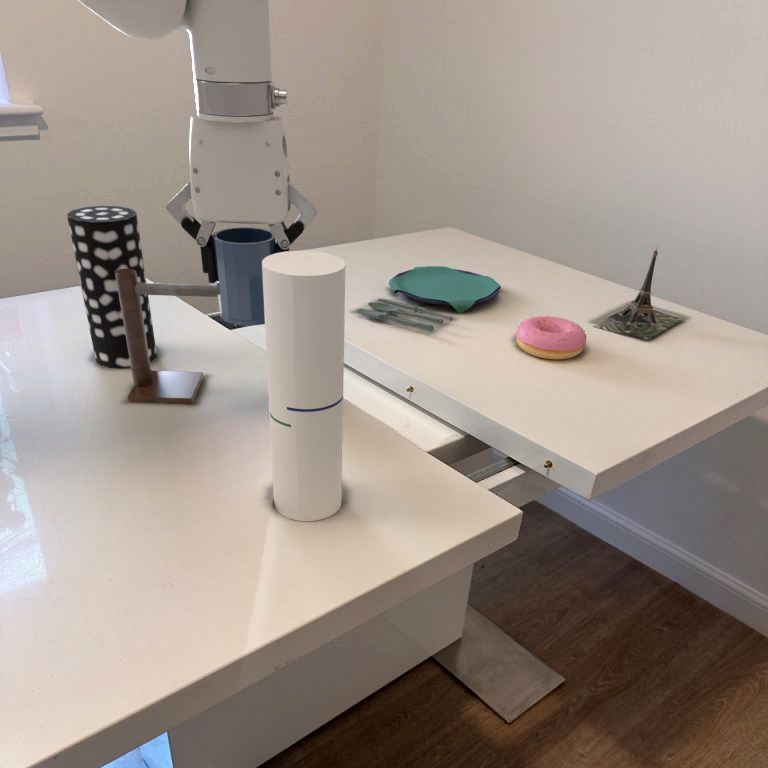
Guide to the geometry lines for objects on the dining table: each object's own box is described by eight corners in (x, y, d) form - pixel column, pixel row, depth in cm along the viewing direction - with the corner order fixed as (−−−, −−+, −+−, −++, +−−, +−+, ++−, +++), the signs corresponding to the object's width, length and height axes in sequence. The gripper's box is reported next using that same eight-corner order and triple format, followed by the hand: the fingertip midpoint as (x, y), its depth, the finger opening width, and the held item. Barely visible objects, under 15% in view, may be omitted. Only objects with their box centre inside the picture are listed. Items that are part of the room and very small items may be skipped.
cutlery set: (515, 292, 135) (517, 280, 134) (439, 340, 114) (441, 326, 113) (424, 271, 144) (425, 259, 142) (337, 311, 123) (337, 298, 121)
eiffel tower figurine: (648, 343, 117) (671, 260, 110) (592, 326, 123) (610, 246, 115) (684, 321, 127) (707, 243, 119) (631, 306, 132) (650, 230, 124)
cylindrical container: (332, 525, 73) (334, 279, 58) (265, 515, 74) (250, 270, 59) (347, 487, 79) (353, 255, 64) (284, 479, 79) (276, 247, 65)
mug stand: (127, 407, 91) (105, 281, 82) (143, 380, 98) (124, 261, 89) (232, 410, 92) (221, 286, 83) (240, 383, 98) (232, 265, 89)
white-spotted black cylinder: (125, 345, 107) (100, 202, 95) (169, 357, 104) (150, 212, 93) (83, 364, 101) (52, 215, 89) (129, 378, 98) (103, 225, 86)
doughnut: (528, 365, 108) (533, 338, 106) (504, 337, 117) (507, 312, 114) (595, 361, 110) (601, 336, 108) (566, 334, 119) (571, 310, 116)
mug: (276, 326, 81) (272, 245, 76) (215, 324, 81) (207, 242, 76) (285, 294, 90) (282, 219, 85) (230, 292, 90) (224, 217, 84)
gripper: (324, 100, 75) (325, 273, 85) (155, 93, 74) (177, 268, 84) (320, 109, 68) (322, 294, 79) (136, 102, 68) (162, 289, 78)
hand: (247, 279), depth 81 cm, fingers closed on mug, 6 cm apart
